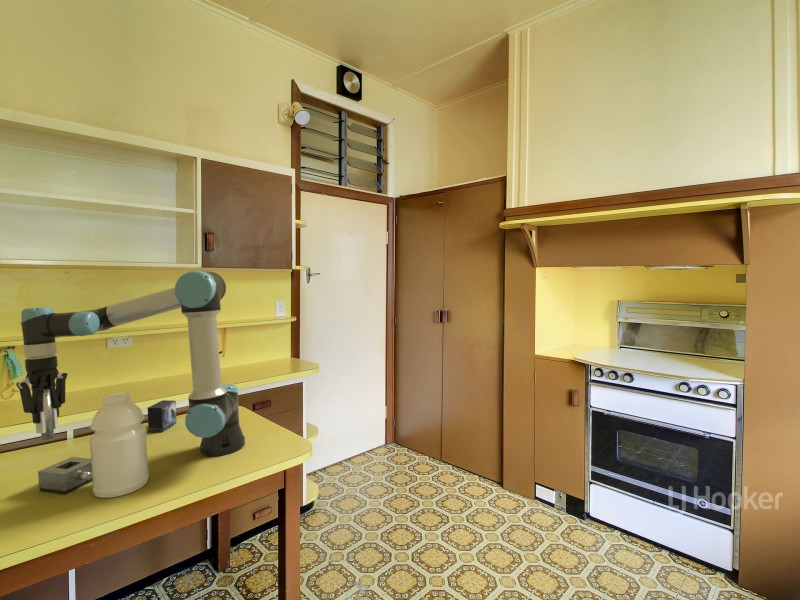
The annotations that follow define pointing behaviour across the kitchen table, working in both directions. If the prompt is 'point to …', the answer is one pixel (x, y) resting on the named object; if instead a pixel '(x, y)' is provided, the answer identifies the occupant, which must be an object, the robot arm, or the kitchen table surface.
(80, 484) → the block
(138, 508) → the kitchen table surface
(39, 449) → the kitchen table surface
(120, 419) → the bottle
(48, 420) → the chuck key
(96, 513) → the kitchen table surface
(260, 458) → the kitchen table surface
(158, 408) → the small box
